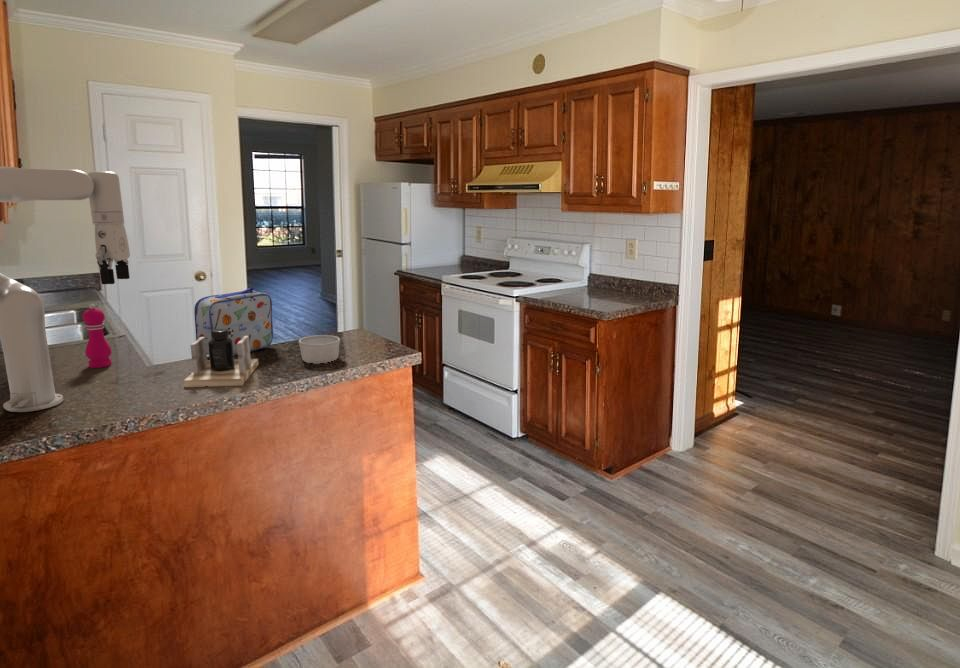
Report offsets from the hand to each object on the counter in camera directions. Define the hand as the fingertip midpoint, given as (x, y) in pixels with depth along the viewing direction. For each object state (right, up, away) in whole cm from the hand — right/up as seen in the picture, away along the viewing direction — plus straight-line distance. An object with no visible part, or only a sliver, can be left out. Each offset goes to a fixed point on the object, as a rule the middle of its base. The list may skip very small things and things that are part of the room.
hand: (116, 281), depth 177 cm
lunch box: (+17, -21, +44) cm, 52 cm away
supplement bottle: (+23, -25, +17) cm, 38 cm away
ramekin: (+48, -23, +35) cm, 64 cm away
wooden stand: (+23, -27, +18) cm, 39 cm away
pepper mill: (-21, -25, +28) cm, 43 cm away
